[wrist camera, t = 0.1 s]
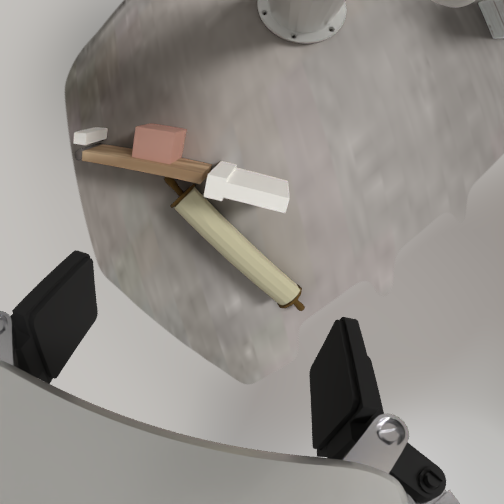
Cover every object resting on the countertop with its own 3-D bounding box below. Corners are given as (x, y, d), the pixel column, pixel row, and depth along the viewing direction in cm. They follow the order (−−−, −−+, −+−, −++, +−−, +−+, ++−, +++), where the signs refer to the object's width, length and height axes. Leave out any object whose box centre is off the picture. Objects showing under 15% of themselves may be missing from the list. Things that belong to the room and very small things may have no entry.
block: (151, 123, 42) (135, 126, 37) (186, 129, 42) (175, 132, 38) (146, 150, 44) (131, 157, 39) (181, 157, 45) (169, 164, 40)
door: (96, 142, 44) (74, 149, 38) (212, 163, 45) (202, 173, 39) (95, 151, 45) (74, 159, 39) (210, 173, 45) (200, 184, 40)
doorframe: (96, 126, 43) (64, 134, 35) (292, 165, 44) (295, 179, 36) (93, 155, 45) (62, 167, 37) (283, 196, 46) (284, 216, 38)
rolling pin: (160, 184, 47) (148, 193, 43) (182, 160, 45) (171, 166, 40) (291, 309, 56) (291, 327, 52) (314, 293, 54) (317, 310, 50)
